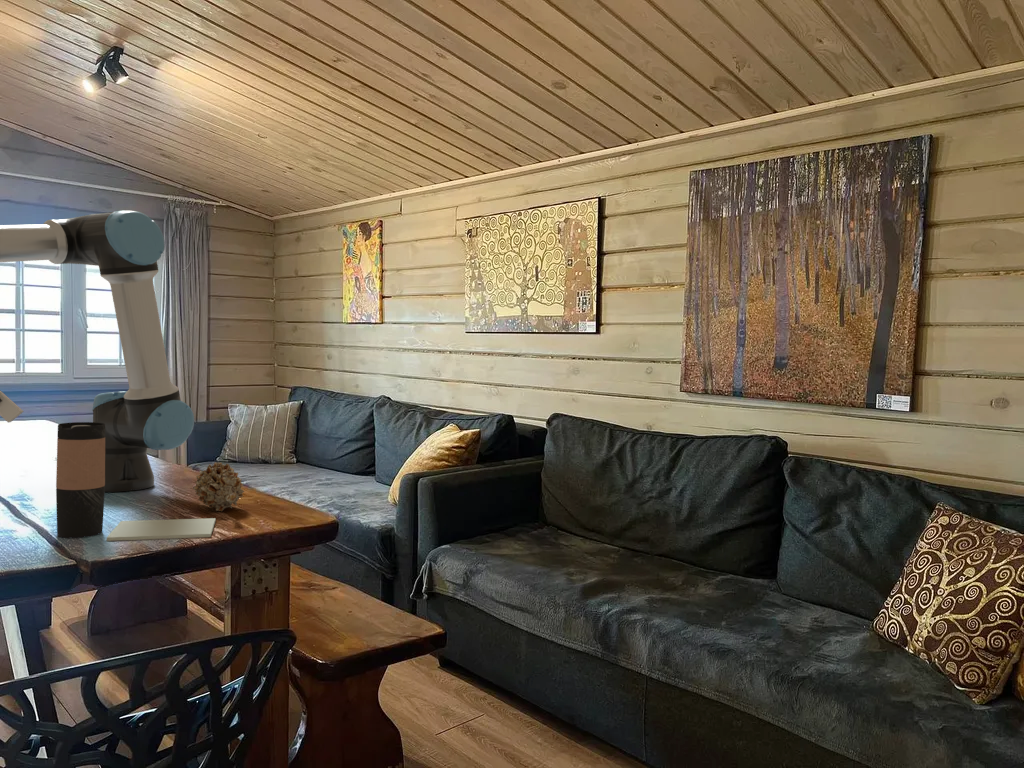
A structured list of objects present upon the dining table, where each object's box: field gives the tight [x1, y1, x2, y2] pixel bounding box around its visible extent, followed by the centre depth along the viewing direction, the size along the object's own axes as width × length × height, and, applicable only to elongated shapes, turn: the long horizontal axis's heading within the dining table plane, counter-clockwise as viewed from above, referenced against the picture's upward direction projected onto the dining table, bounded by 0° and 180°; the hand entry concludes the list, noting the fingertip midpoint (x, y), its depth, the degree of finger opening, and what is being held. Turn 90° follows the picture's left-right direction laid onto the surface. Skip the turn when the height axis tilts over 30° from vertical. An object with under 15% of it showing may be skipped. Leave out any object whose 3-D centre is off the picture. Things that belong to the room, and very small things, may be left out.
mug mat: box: [106, 517, 217, 542], centre depth 138 cm, size 17×13×1 cm
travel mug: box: [55, 421, 106, 539], centre depth 133 cm, size 8×8×20 cm
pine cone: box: [192, 461, 245, 512], centre depth 155 cm, size 22×10×10 cm, turn 37°
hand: (15, 416), depth 129 cm, fingers closed
